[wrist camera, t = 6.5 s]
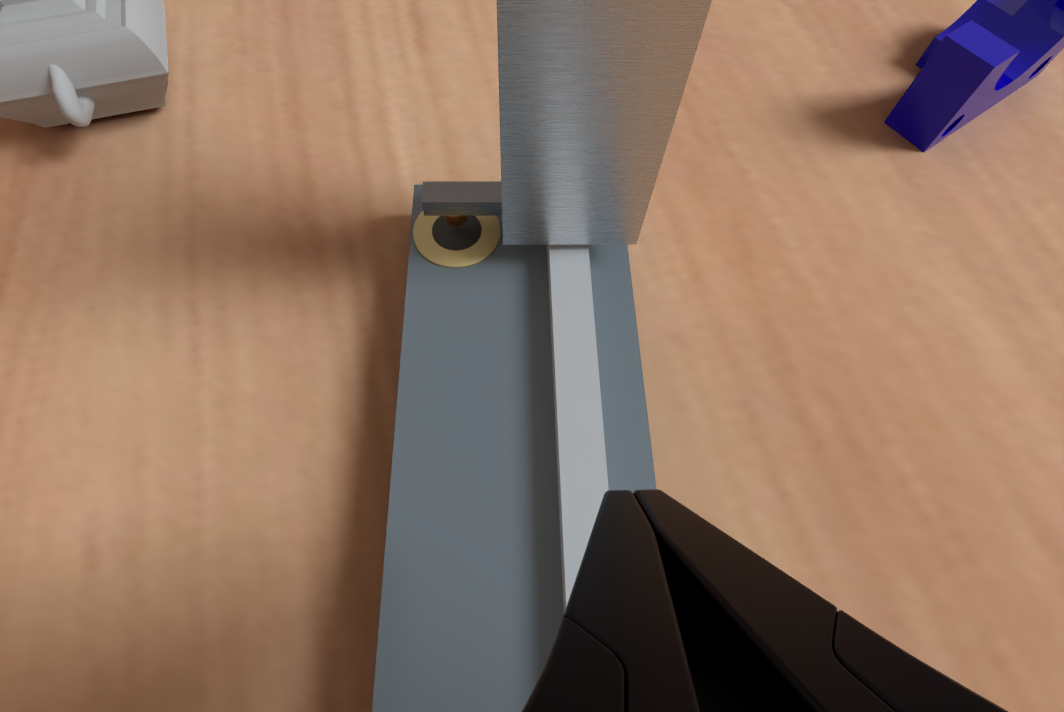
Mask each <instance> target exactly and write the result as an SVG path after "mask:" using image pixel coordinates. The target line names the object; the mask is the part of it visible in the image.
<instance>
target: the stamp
mask: <svg viewBox="0 0 1064 712" xmlns="http://www.w3.org/2000/svg"><path fill="white" fill-rule="evenodd" d="M168 74H169V72H168V56H167V40H166V24H165V9H164V0H0V117H1V118H6V119H12V120H17V121H23V122H28V123H33V124H35V125H38V126H41V127H44V128H47V127H53V126H58V125H64V124H69V123H71V124H72V125H74V126H78V127H87V126H88V125H89V124H90V122H91V119H97V118H102V117H108V116H113V115H119V114H124V113H130V112H135V111H141V110H146V109H152V108H157V107H163V106H166V103H165V95H166V90H167V86H168V78H167V77H168Z"/></svg>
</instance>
